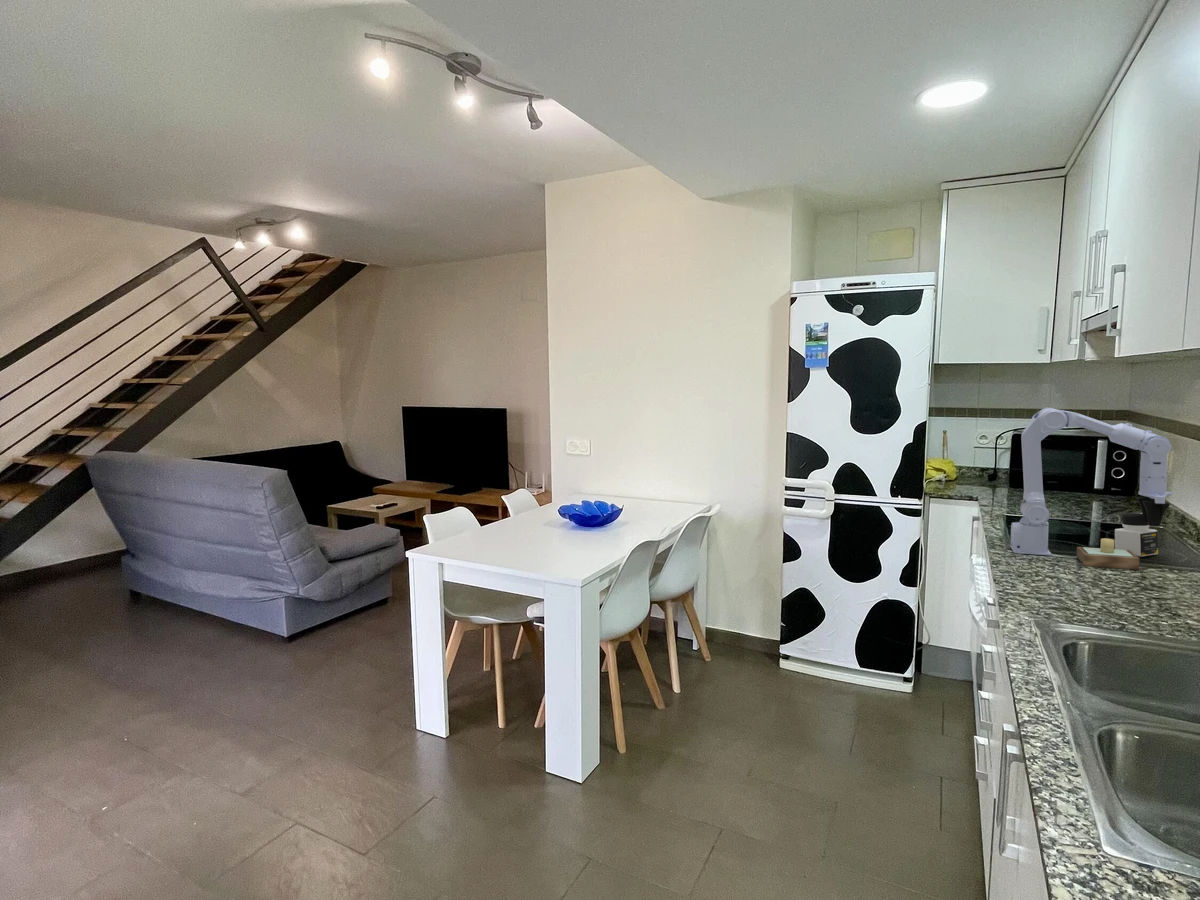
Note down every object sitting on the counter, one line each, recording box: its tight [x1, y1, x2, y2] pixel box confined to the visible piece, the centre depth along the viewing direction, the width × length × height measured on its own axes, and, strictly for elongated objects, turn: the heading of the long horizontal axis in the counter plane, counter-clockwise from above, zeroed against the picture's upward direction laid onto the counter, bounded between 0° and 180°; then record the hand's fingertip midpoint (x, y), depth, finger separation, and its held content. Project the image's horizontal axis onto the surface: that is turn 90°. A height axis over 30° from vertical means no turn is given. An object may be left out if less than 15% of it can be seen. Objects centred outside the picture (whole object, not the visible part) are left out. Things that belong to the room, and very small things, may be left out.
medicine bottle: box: [1114, 511, 1159, 558], centre depth 183 cm, size 7×7×12 cm
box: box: [1076, 546, 1141, 571], centre depth 176 cm, size 12×9×3 cm
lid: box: [1082, 537, 1133, 557], centre depth 176 cm, size 10×7×4 cm
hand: (1151, 523), depth 177 cm, fingers open, 4 cm apart
